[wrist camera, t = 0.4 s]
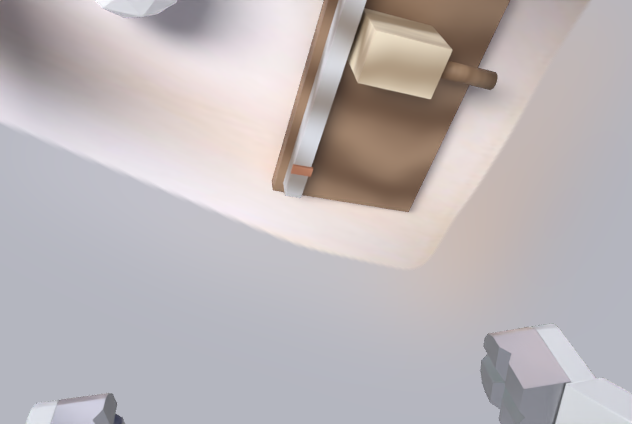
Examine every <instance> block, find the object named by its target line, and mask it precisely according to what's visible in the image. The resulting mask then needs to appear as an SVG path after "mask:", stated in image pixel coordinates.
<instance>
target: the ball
mask: <svg viewBox="0 0 632 424" xmlns="http://www.w3.org/2000/svg"><path fill="white" fill-rule="evenodd" d="M95 1H96V2H97V3H98V4H99V5H100V6H101V7H102V8H103V9H106V10H108V11H110V12H112V13H115V14H117V15H119V16H121V17H124V18H134V17H145V16H151V15H157V14H159V13H160V12H162V11H164V10H165V9H167V8H168V7H170V6H172V5H173V4H175V3H176V2H177V1H178V0H95Z"/></svg>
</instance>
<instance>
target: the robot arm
mask: <svg viewBox="0 0 632 424" xmlns="http://www.w3.org/2000/svg"><path fill="white" fill-rule="evenodd" d="M484 348H485V350H486V352H487V355H486V356H485V357H484V358H483V359H482V361H481V378H482V384H483V387H484V390H485V393H486V395H487V397H488V399H489V401H490V403H492V404H493V405H495V406H496V407H498V408H499V409H500V415H499V421H500V423H501V424H632V393H630V392H629V391H627V390H625V389H623V388H621V387H619V386H618V385H616V384H614V383H612V382H610V381H608V380H607V379H605V378H596V377H595V376H594V374H593V373H592V372H591V370H590V369H589V368H588V366H587V365H586V364H585V363H584V361H583V360H582V358H581V357H580V356H579V354H578V353H577V352H576V350H575V349H574V348H573V346H572V345H571V344H570V342H569V341H568V340H567V338H566V337H565V336H564V334H563V333H562V332H561V330H560V329H559V328H558V326H556V325H555V324H553V323H551V324H544V325H538V326H532V327H524V328H518V329H513V330H506V331H500V332H495V333H489V334H487V336H486V337H485V340H484ZM116 407H117V402H116V400H115V398H114V396H113V394H112V393H106V394H99V395H92V396H83V397H76V398H68V399H61V400H55V401H48V402H41V403H36V404H35V405H34V406H33V408H32V409H31V410H30V412H29V415H28V418H27V421H26V424H125V423H124V420H123V418H122V417H120V416H119V415H117V414H115V412H116Z"/></svg>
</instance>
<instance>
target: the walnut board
mask: <svg viewBox="0 0 632 424" xmlns="http://www.w3.org/2000/svg"><path fill="white" fill-rule="evenodd" d="M509 1H510V0H324V2H323V5H322V9H321V12H320V16H319V19H318V23H317V26H316V30H315V33H314V37H313V40H312V43H311V47H310V50H309V54H308V57H307V61H306V64H305V68H304V71H303V75H302V78H301V82H300V85H299V89H298V92H297V96H296V99H295V102H294V106H293V109H292V113H291V116H290V120H289V123H288V127H287V130H286V134H285V137H284V141H283V144H282V148H281V151H280V154H279V158H278V161H277V165H276V168H275V172H274V175H273V179H272V187H273V190H275V191H281V192H285V196H291V197H298V198H301V196H302V195H306V196H312V197H318V198H324V199H330V200H337V201H343V202H349V203H355V204H361V205H368V206H374V207H380V208H386V209H392V210H399V211H405V212H409V210H410V208H411V206H412V204H413V202H414V199H415V197H416V195H417V193H418V191H419V189H420V187H421V185H422V183H423V181H424V179H425V177H426V174H427V172H428V170H429V168H430V166H431V164H432V162H433V160H434V158H435V156H436V154H437V152H438V149H439V147H440V145H441V143H442V141H443V139H444V137H445V135H446V133H447V131H448V129H449V126H450V124H451V122H452V120H453V118H454V116H455V114H456V112H457V110H458V108H459V106H460V104H461V101H462V99H463V97H464V95H465V93H466V91H467V89H468V87H469V85H467V84H463V83H459V82H455V81H450V80H446V79H442V78H440V80H439V82H438V84H437V87H436V89H435V91H434V93H433V96H432V98H431V99H427V98H422V97H418V96H414V95H409V94H405V93H400V92H396V91H391V90H387V89H382V88H378V87H373V86H369V85H365V84H360V83H358V82H357V80H356V78H355V76H354V73H353V71H352V69H351V66H350V64H349V62H348V60H347V58H348V55H349V52H350V49H351V46H352V43H353V40H354V37H355V34H356V31H357V28H358V25H359V22H360V19H361V16H362V13H363V10H364V8H366V9H370V10H374V11H378V12H381V13H385V14H389V15H393V16H396V17H400V18H404V19H408V20H412V21H415V22H419V23H423V24H427V25H430V26H433V27H434V28H435V30H436V31H437V32H438V33H439V34H440V36H441V37H442V38H443V39H444V40H445V41H446V43H447V44H448V45H449V46H450V47H451V49H452V53H451V55H450V57H449V60H448V61H452V62H456V63H460V64H464V65H469V66H473V67H477V68H478V66H479V64H480V62H481V60H482V58H483V56H484V53H485V51H486V49H487V47H488V45H489V43H490V41H491V39H492V37H493V35H494V33H495V31H496V28H497V26H498V24H499V22H500V20H501V18H502V16H503V14H504V12H505V10H506V8H507V6H508V3H509Z"/></svg>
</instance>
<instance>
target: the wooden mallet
mask: <svg viewBox="0 0 632 424" xmlns="http://www.w3.org/2000/svg"><path fill="white" fill-rule="evenodd" d="M451 53H452V49H451V47H450V46H449V45H448V44H447V43H446V41H445V40H444V39H443V38H442V37H441V36H440V34H439V33H438V32H437V31H436V30H435V28H434V27H433V26H430V25H427V24H423V23H419V22H415V21H412V20H408V19H404V18H400V17H396V16H393V15H389V14H385V13H381V12H378V11H374V10H370V9H366V8H364V10H363V13H362V16H361V19H360V22H359V25H358V28H357V31H356V34H355V37H354V40H353V43H352V46H351V49H350V52H349V55H348V58H347V60H348V62H349V64H350V66H351V69H352V71H353V73H354V76H355V78H356V80H357V82H358V83H360V84H365V85H369V86H373V87H378V88H382V89H387V90H391V91H396V92H400V93H405V94H409V95H414V96H418V97H422V98H427V99H431V98H432V96H433V93H434V91H435V89H436V87H437V84H438V82H439V80H440V78H442V79H446V80H450V81H455V82H459V83H463V84H467V85H471V86H476V87H480V88H484V89H488V90H491V89H493V88H494V86H495V85H496V82H497V73H496V72H493V71H489V70H485V69H481V68H477V67H473V66H469V65H464V64H460V63H456V62H452V61H448V60H449V57H450V55H451Z"/></svg>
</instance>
